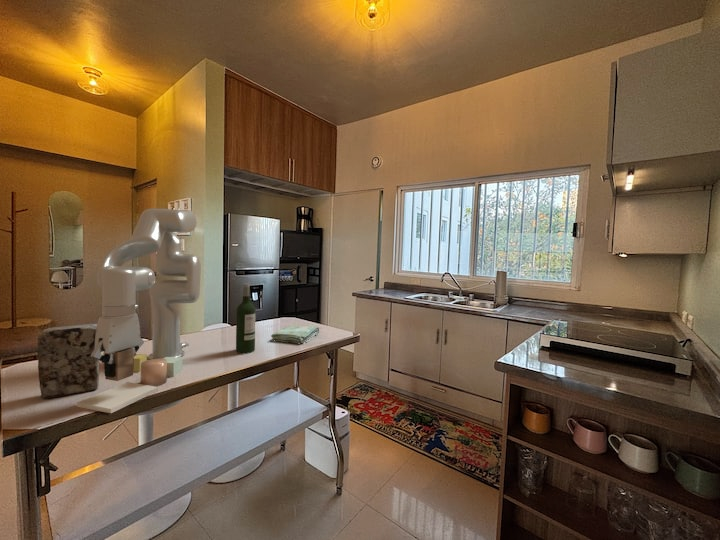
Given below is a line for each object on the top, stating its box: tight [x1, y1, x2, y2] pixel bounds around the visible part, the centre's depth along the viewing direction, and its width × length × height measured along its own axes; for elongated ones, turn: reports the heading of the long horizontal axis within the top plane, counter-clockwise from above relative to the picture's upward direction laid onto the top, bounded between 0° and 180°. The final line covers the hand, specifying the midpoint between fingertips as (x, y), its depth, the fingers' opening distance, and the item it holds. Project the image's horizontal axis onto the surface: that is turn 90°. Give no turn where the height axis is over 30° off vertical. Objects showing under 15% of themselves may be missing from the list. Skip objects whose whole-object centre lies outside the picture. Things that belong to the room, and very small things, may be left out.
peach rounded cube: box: [140, 359, 168, 387], centre depth 98 cm, size 7×7×7 cm
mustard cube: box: [133, 353, 148, 373], centre depth 109 cm, size 5×5×5 cm
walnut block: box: [104, 348, 134, 382], centre depth 87 cm, size 4×4×8 cm
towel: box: [270, 325, 320, 344], centre depth 157 cm, size 18×21×5 cm
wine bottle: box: [235, 283, 256, 354], centre depth 133 cm, size 8×8×30 cm
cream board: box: [76, 381, 159, 414], centre depth 88 cm, size 14×12×1 cm
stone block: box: [37, 323, 100, 399], centre depth 90 cm, size 13×7×20 cm, turn 131°
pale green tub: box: [163, 356, 184, 378], centre depth 106 cm, size 6×6×5 cm
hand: (119, 372), depth 87 cm, fingers closed on walnut block, 4 cm apart
